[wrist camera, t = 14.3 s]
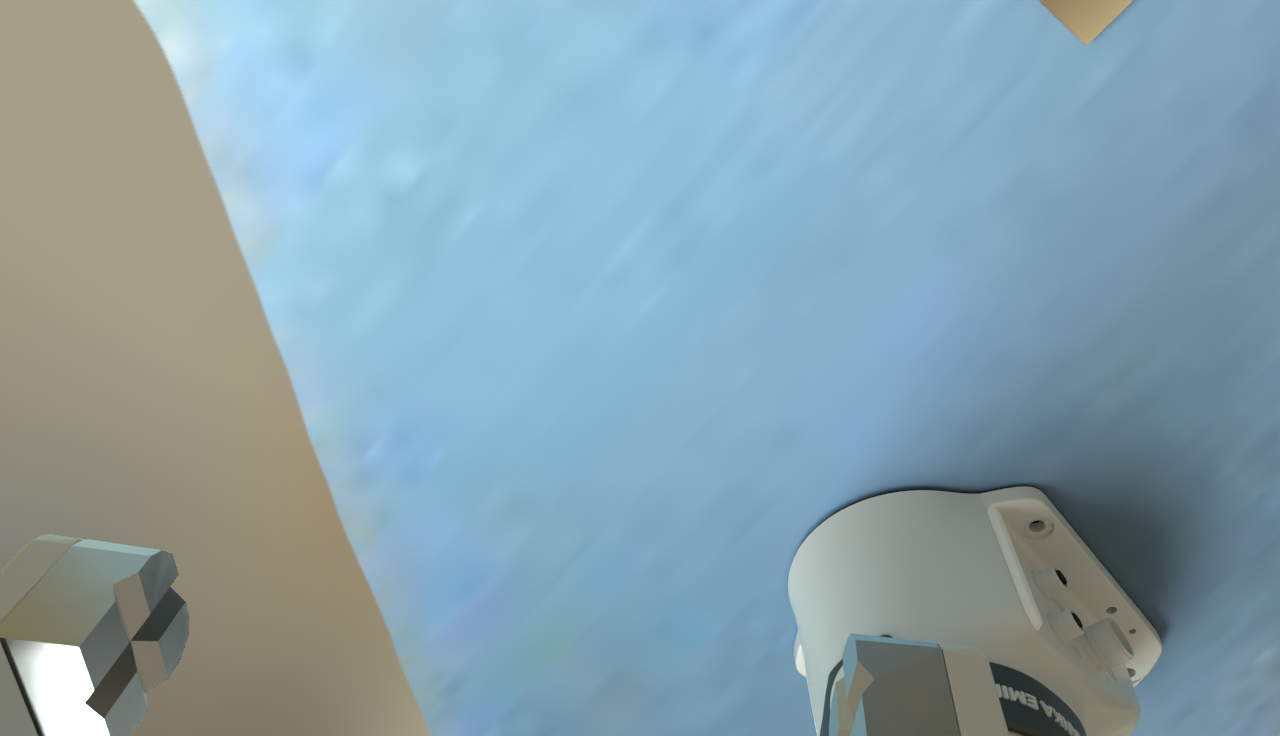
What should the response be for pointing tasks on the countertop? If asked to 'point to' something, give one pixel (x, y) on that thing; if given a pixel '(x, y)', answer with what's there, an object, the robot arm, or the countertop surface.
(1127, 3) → the mat
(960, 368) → the countertop surface
